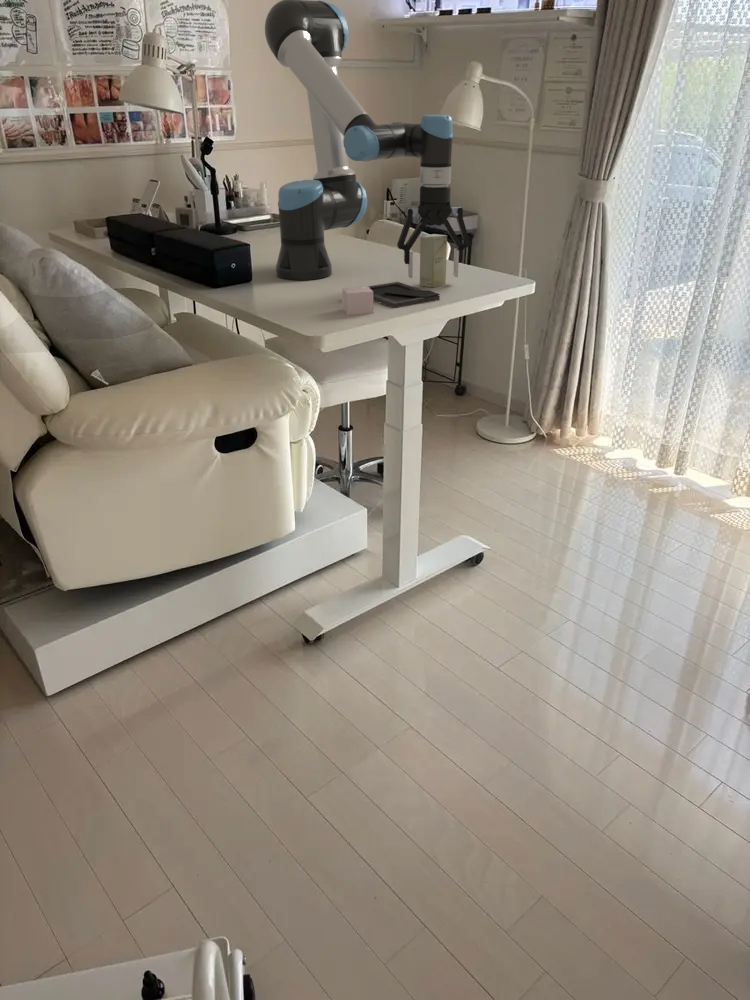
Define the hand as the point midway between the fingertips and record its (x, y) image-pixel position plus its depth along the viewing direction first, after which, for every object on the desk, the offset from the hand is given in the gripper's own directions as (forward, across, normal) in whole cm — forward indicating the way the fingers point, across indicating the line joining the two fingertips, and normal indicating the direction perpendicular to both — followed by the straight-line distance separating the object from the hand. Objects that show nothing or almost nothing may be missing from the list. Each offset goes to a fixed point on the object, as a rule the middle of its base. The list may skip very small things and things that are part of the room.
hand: (432, 276), depth 203 cm
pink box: (+2, -21, -24) cm, 32 cm away
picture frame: (+3, -11, -11) cm, 16 cm away
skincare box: (+2, 0, 0) cm, 2 cm away
